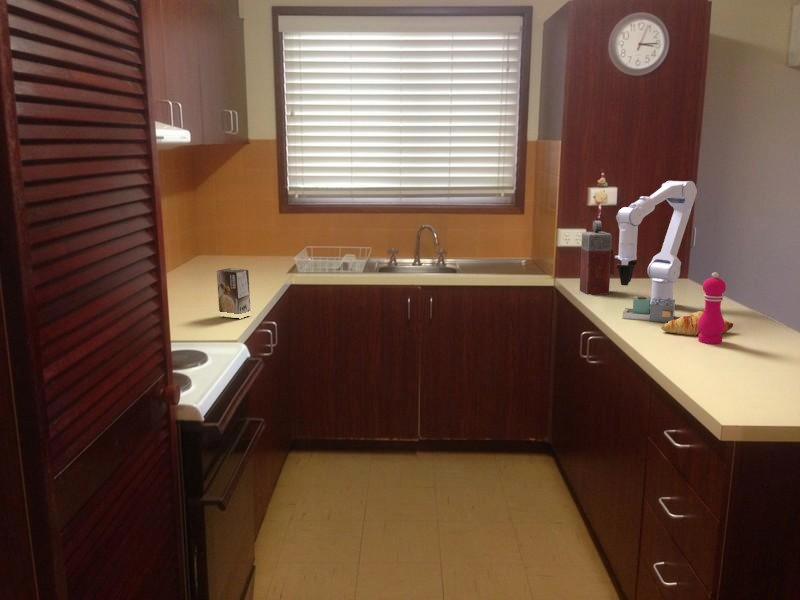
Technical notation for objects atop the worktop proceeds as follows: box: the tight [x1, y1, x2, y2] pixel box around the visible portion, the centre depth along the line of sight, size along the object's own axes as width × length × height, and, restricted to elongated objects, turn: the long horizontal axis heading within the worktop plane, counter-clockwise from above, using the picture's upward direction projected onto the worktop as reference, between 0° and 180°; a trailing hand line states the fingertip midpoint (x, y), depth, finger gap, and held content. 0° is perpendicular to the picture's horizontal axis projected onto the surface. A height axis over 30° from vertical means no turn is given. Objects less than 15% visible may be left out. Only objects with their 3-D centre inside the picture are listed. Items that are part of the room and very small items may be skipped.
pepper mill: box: [697, 271, 727, 345], centre depth 200 cm, size 7×7×20 cm
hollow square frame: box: [621, 297, 676, 323], centre depth 232 cm, size 12×16×6 cm
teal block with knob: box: [632, 296, 651, 314], centre depth 233 cm, size 5×5×6 cm
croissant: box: [660, 310, 734, 337], centre depth 212 cm, size 21×10×8 cm, turn 89°
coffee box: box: [216, 267, 252, 314], centre depth 238 cm, size 9×6×16 cm
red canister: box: [579, 220, 616, 295], centre depth 275 cm, size 9×11×28 cm
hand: (625, 283), depth 240 cm, fingers open, 7 cm apart
